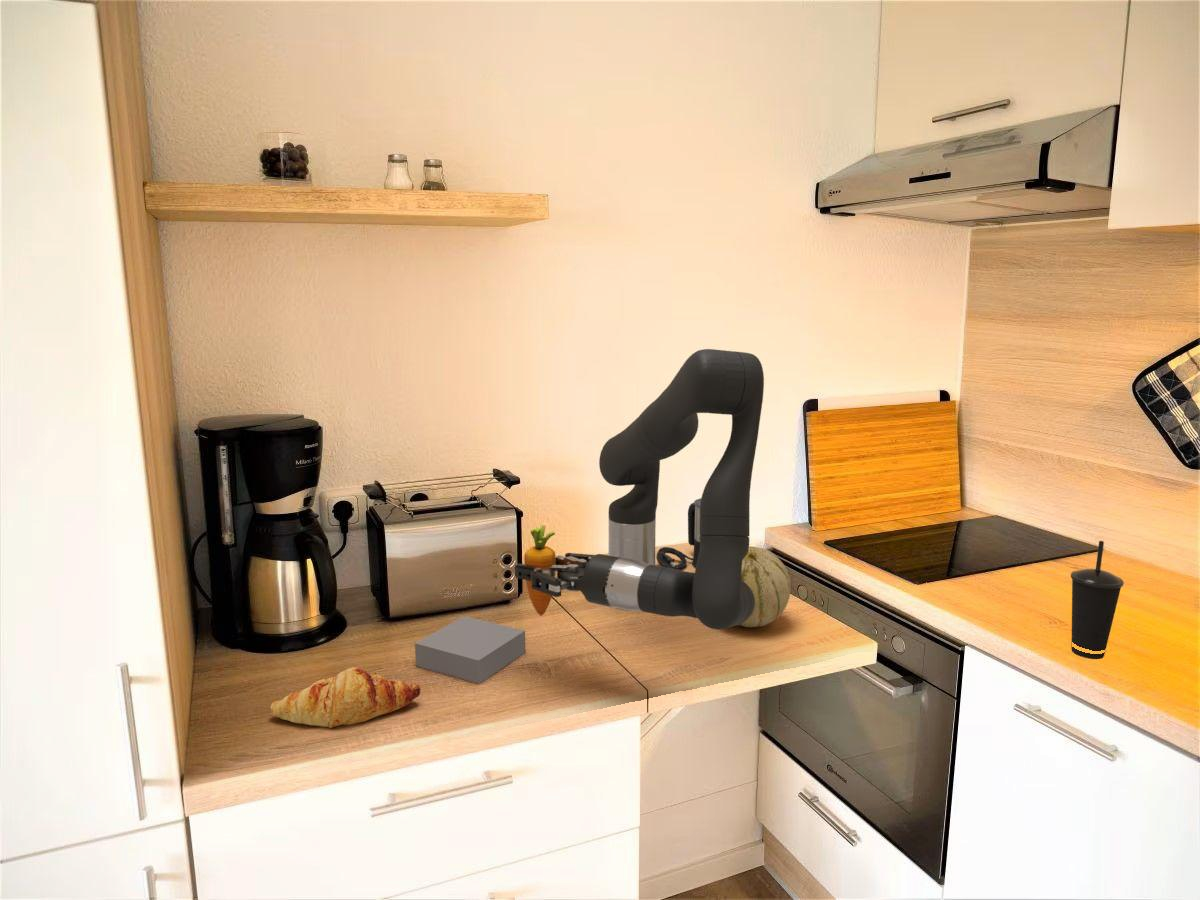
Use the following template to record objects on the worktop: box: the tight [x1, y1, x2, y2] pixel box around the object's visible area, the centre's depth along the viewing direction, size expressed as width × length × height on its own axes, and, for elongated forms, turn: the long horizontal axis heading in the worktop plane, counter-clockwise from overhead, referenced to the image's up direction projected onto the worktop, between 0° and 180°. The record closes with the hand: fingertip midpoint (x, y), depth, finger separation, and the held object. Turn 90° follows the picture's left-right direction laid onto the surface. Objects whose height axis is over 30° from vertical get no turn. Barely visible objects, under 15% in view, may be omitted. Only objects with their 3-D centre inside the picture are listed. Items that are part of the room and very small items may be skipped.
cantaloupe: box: [738, 545, 792, 628], centre depth 149 cm, size 15×15×15 cm
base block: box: [414, 615, 526, 685], centre depth 136 cm, size 13×13×4 cm
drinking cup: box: [1070, 540, 1125, 660], centre depth 137 cm, size 8×8×20 cm
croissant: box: [269, 666, 421, 728], centre depth 118 cm, size 21×10×8 cm, turn 104°
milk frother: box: [655, 497, 701, 570], centre depth 181 cm, size 14×16×15 cm
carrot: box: [523, 524, 557, 617], centre depth 129 cm, size 5×5×15 cm
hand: (526, 565), depth 130 cm, fingers closed on carrot, 5 cm apart
